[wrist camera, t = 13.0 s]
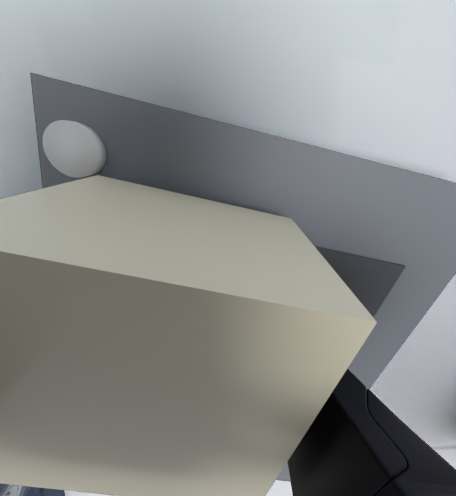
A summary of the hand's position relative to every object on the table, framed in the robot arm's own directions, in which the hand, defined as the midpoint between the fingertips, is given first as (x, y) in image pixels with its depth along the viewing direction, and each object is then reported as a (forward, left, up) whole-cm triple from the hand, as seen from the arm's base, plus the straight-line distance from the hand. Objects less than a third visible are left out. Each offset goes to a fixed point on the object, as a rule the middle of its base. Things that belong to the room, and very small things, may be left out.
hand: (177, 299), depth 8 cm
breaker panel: (-3, +6, -5) cm, 9 cm away
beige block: (0, 0, -1) cm, 1 cm away
